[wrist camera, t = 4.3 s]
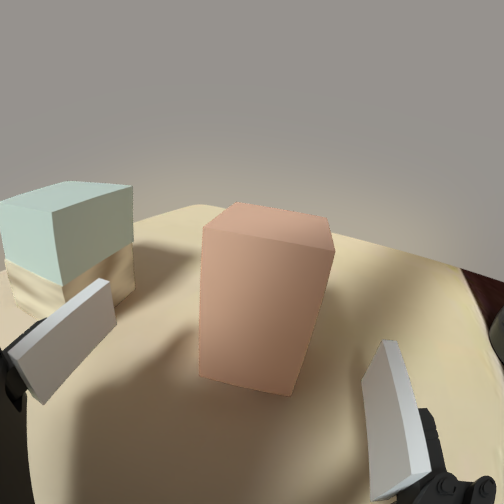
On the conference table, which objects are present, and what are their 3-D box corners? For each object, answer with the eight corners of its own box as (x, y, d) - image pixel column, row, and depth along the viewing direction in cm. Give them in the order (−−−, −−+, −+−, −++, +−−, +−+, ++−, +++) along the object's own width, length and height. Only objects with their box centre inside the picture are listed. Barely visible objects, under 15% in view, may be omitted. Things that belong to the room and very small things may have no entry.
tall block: (290, 396, 15) (335, 251, 12) (199, 376, 16) (202, 227, 12) (297, 339, 21) (327, 217, 17) (224, 324, 22) (235, 201, 18)
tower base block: (77, 344, 16) (61, 287, 14) (17, 308, 18) (4, 259, 16) (135, 289, 25) (132, 241, 23) (74, 270, 26) (68, 227, 24)
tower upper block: (63, 286, 15) (51, 212, 13) (5, 258, 16) (-4, 202, 14) (133, 241, 23) (132, 185, 21) (70, 227, 24) (67, 181, 22)
